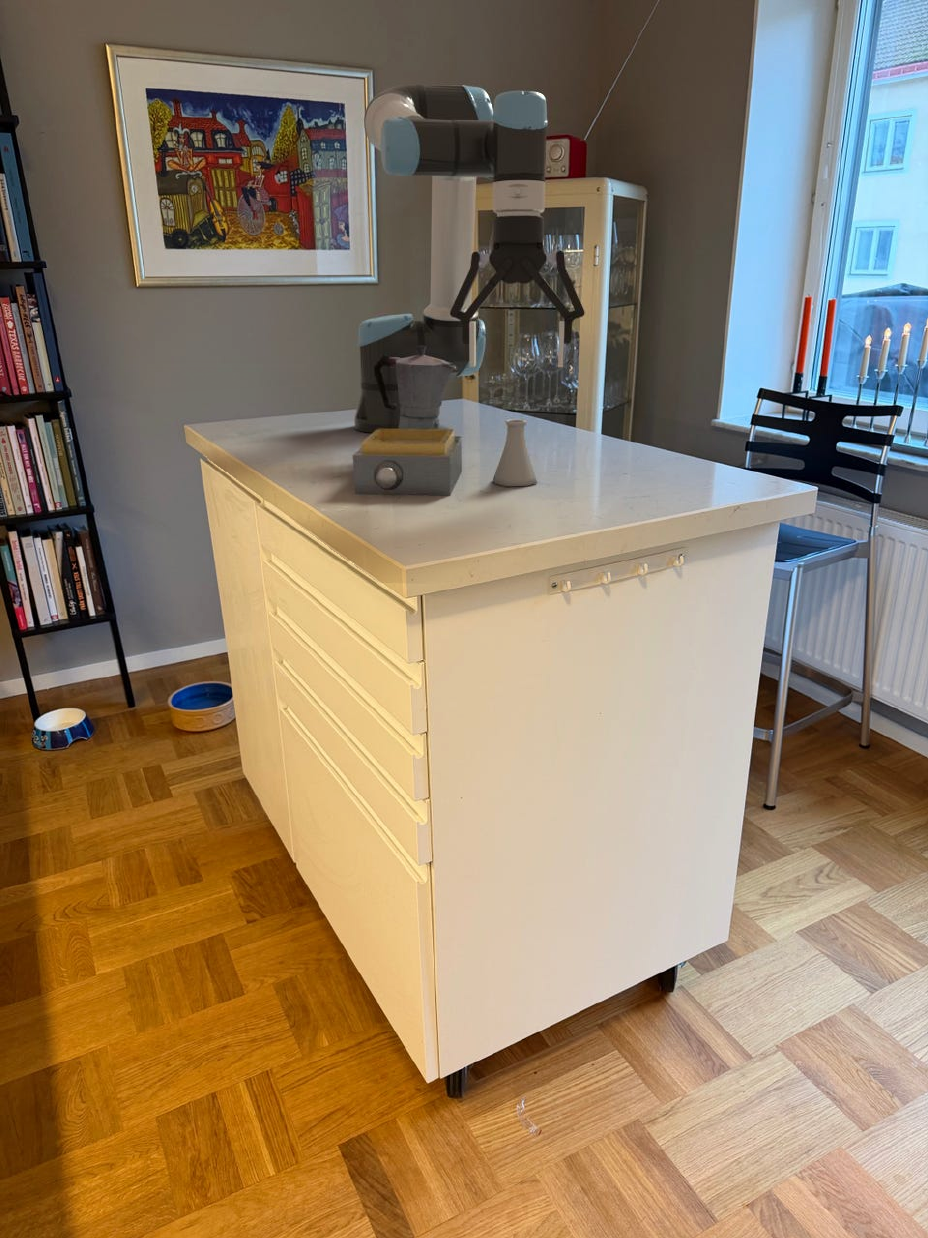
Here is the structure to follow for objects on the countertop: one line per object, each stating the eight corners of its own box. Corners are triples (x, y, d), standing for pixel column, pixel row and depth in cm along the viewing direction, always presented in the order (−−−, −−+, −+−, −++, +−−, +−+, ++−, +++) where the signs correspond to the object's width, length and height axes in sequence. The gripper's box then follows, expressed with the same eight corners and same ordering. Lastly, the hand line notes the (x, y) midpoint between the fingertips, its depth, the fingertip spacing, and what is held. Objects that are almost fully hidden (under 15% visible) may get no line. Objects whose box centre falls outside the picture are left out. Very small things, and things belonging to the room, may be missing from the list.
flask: (485, 480, 143) (485, 419, 139) (524, 476, 145) (525, 415, 141) (504, 489, 136) (505, 425, 133) (544, 485, 139) (546, 422, 135)
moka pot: (451, 465, 153) (450, 347, 146) (368, 462, 156) (363, 346, 149) (462, 454, 162) (461, 343, 155) (383, 451, 165) (379, 342, 158)
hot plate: (376, 469, 150) (374, 426, 147) (461, 471, 149) (461, 427, 146) (351, 497, 132) (348, 448, 129) (448, 499, 131) (447, 449, 128)
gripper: (430, 214, 124) (433, 368, 132) (606, 212, 121) (598, 368, 129) (437, 217, 131) (439, 363, 138) (603, 215, 128) (596, 363, 136)
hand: (516, 366), depth 134 cm, fingers open, 13 cm apart
